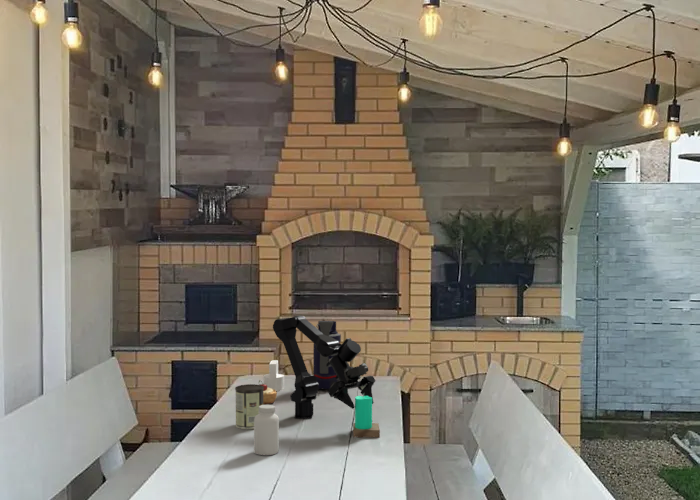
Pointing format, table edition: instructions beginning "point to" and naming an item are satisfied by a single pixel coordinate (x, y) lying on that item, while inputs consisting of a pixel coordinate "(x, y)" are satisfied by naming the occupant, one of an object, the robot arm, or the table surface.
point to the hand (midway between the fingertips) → (363, 405)
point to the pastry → (268, 394)
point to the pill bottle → (266, 431)
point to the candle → (363, 412)
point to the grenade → (320, 370)
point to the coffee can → (248, 404)
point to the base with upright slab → (274, 377)
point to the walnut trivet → (367, 431)
